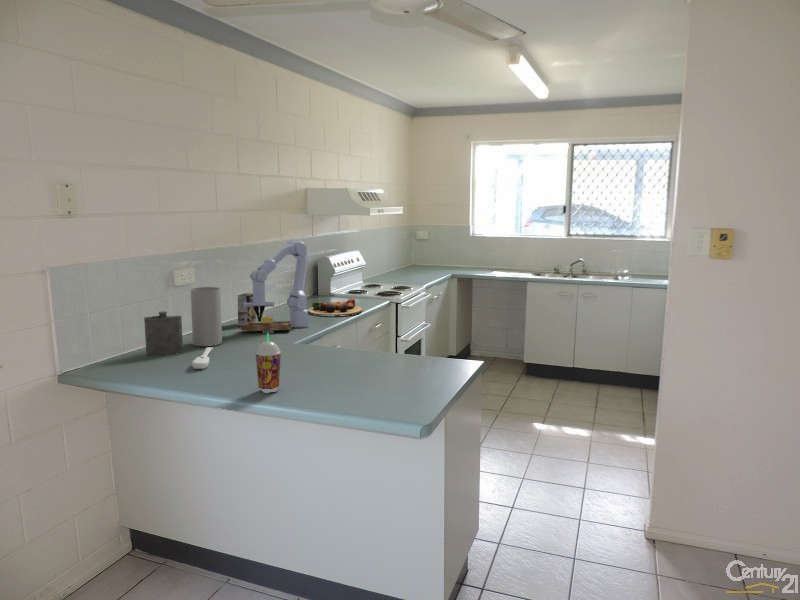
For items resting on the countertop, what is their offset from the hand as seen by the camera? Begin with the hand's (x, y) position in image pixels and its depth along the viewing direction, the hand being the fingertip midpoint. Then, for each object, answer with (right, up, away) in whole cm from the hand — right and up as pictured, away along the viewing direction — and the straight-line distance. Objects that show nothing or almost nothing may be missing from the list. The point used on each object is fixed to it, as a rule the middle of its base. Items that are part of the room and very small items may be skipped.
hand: (259, 321), depth 289 cm
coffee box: (-11, -3, +18) cm, 21 cm away
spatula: (-9, -14, -54) cm, 57 cm away
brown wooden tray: (+3, -4, +1) cm, 5 cm away
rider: (+4, -2, +1) cm, 5 cm away
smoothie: (+25, -21, -90) cm, 95 cm away
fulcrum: (+4, -5, +2) cm, 7 cm away
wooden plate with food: (+31, +3, +58) cm, 66 cm away
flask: (-29, -12, -44) cm, 54 cm away
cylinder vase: (-17, -10, -26) cm, 32 cm away
